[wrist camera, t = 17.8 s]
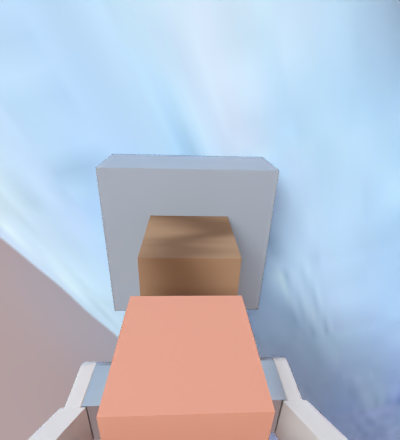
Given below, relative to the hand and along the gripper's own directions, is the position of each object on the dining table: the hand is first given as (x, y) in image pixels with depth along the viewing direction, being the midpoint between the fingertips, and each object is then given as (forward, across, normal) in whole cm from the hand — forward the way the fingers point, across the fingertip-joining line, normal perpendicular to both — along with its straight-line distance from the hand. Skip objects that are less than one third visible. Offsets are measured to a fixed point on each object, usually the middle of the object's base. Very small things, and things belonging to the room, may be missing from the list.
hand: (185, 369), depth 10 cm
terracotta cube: (+2, 0, 0) cm, 2 cm away
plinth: (+13, 0, 0) cm, 13 cm away
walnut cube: (+9, 0, 0) cm, 9 cm away
